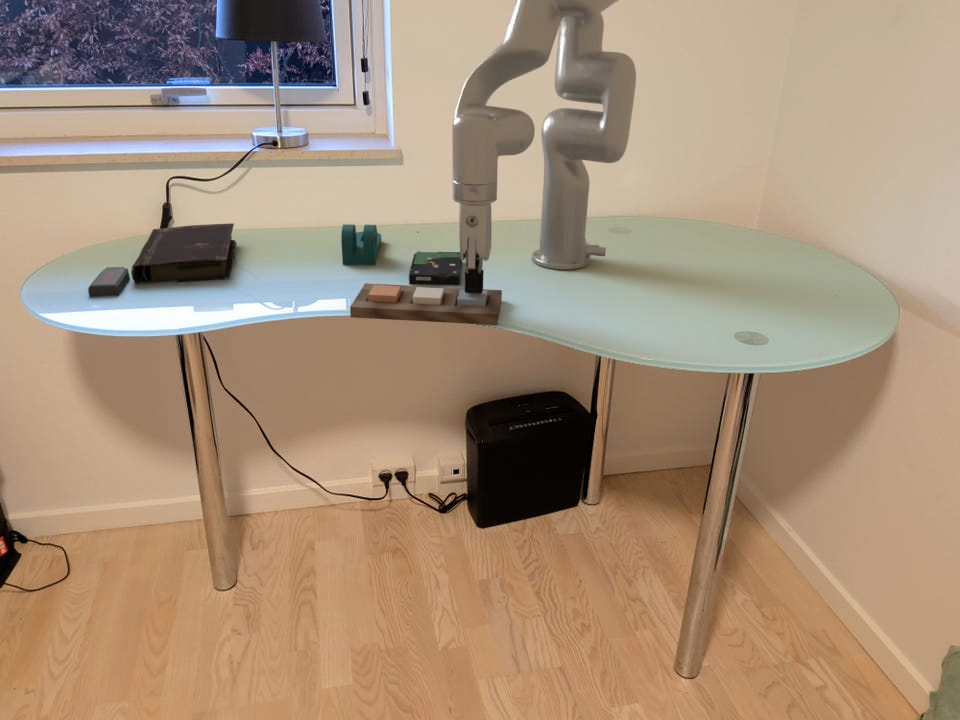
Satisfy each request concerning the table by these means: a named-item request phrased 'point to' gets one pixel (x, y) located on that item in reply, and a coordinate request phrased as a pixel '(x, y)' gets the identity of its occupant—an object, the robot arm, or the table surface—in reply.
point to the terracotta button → (385, 294)
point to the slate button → (472, 299)
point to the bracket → (360, 245)
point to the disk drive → (436, 268)
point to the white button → (428, 296)
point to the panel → (427, 307)
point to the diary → (186, 254)
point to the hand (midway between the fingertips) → (473, 291)
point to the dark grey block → (109, 282)
